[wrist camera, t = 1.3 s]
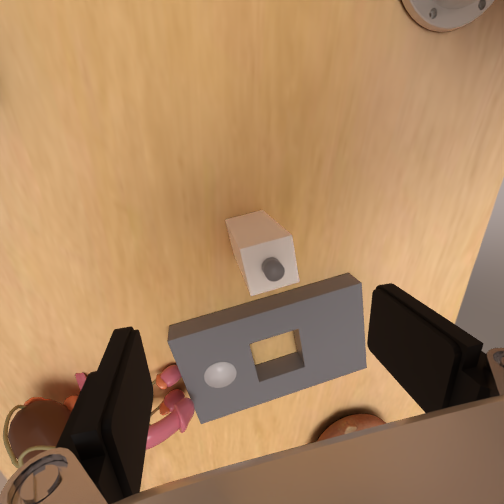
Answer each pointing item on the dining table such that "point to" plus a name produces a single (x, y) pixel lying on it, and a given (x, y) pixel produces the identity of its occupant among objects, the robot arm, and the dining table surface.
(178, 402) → the anatomy model
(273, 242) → the white square peg
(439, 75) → the dining table surface
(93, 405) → the robot arm
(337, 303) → the block
